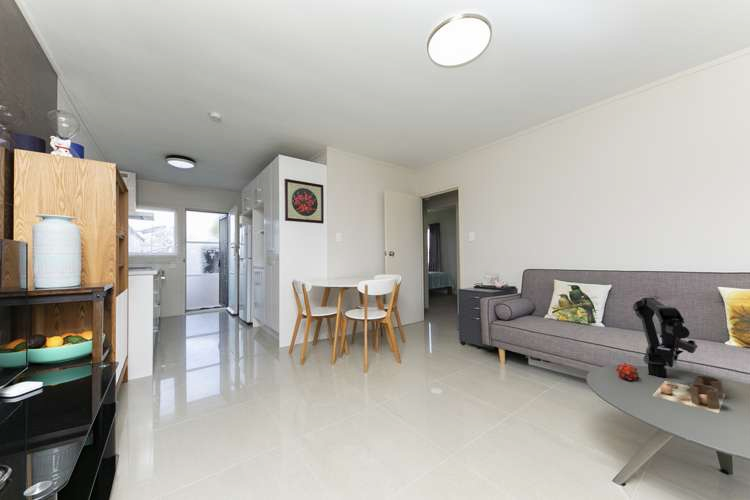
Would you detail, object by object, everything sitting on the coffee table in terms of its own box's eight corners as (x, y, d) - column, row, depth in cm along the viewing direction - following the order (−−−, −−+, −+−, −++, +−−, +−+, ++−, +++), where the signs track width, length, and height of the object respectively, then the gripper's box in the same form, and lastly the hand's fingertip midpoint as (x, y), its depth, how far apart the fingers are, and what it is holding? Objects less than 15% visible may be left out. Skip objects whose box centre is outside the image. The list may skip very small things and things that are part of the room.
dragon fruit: (630, 378, 149) (630, 389, 140) (613, 366, 153) (611, 376, 145) (642, 368, 145) (642, 379, 136) (623, 356, 150) (623, 366, 141)
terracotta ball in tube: (697, 404, 117) (696, 394, 117) (698, 401, 119) (697, 391, 120) (712, 407, 114) (711, 397, 114) (713, 404, 116) (712, 394, 116)
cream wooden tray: (652, 396, 125) (650, 379, 126) (665, 381, 140) (663, 366, 141) (718, 414, 110) (716, 394, 110) (725, 395, 125) (723, 378, 125)
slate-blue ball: (665, 367, 134) (664, 358, 134) (668, 365, 136) (667, 357, 136) (677, 369, 131) (676, 361, 131) (680, 367, 133) (679, 359, 133)
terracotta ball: (659, 393, 127) (658, 384, 127) (661, 391, 129) (660, 382, 130) (672, 396, 124) (671, 387, 124) (674, 394, 126) (673, 385, 126)
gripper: (687, 339, 123) (691, 375, 122) (700, 333, 132) (703, 367, 131) (653, 334, 133) (656, 368, 132) (667, 329, 142) (670, 360, 141)
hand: (672, 366), depth 133 cm, fingers closed on slate-blue ball, 4 cm apart
